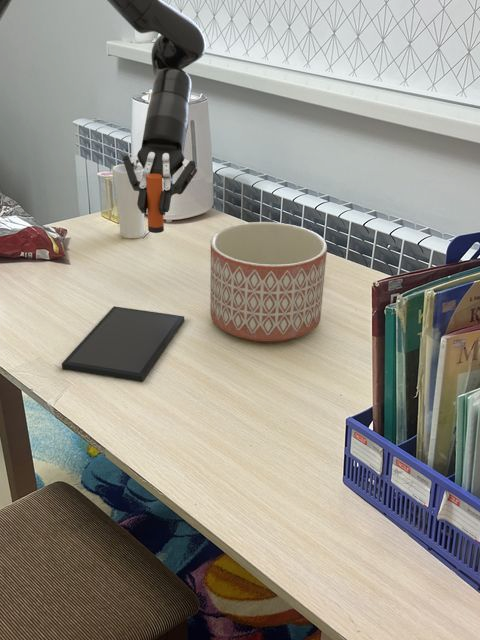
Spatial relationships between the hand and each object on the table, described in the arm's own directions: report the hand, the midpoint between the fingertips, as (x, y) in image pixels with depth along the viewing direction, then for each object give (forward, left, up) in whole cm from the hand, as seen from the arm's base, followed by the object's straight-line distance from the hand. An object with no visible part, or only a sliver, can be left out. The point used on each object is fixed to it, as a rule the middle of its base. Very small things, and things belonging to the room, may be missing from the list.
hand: (152, 211), depth 121 cm
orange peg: (0, +2, -4) cm, 5 cm away
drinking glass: (-15, +26, -16) cm, 34 cm away
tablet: (+2, -19, -16) cm, 25 cm away
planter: (+22, -5, -16) cm, 28 cm away
